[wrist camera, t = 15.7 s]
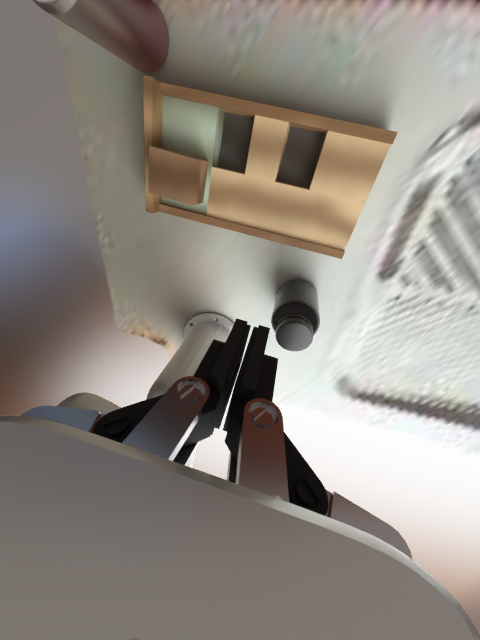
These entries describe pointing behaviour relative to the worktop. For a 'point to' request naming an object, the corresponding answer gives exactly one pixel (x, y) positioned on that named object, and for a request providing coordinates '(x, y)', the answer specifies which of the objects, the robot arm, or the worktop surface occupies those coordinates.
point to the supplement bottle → (295, 315)
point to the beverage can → (118, 27)
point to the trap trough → (266, 165)
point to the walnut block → (177, 176)
